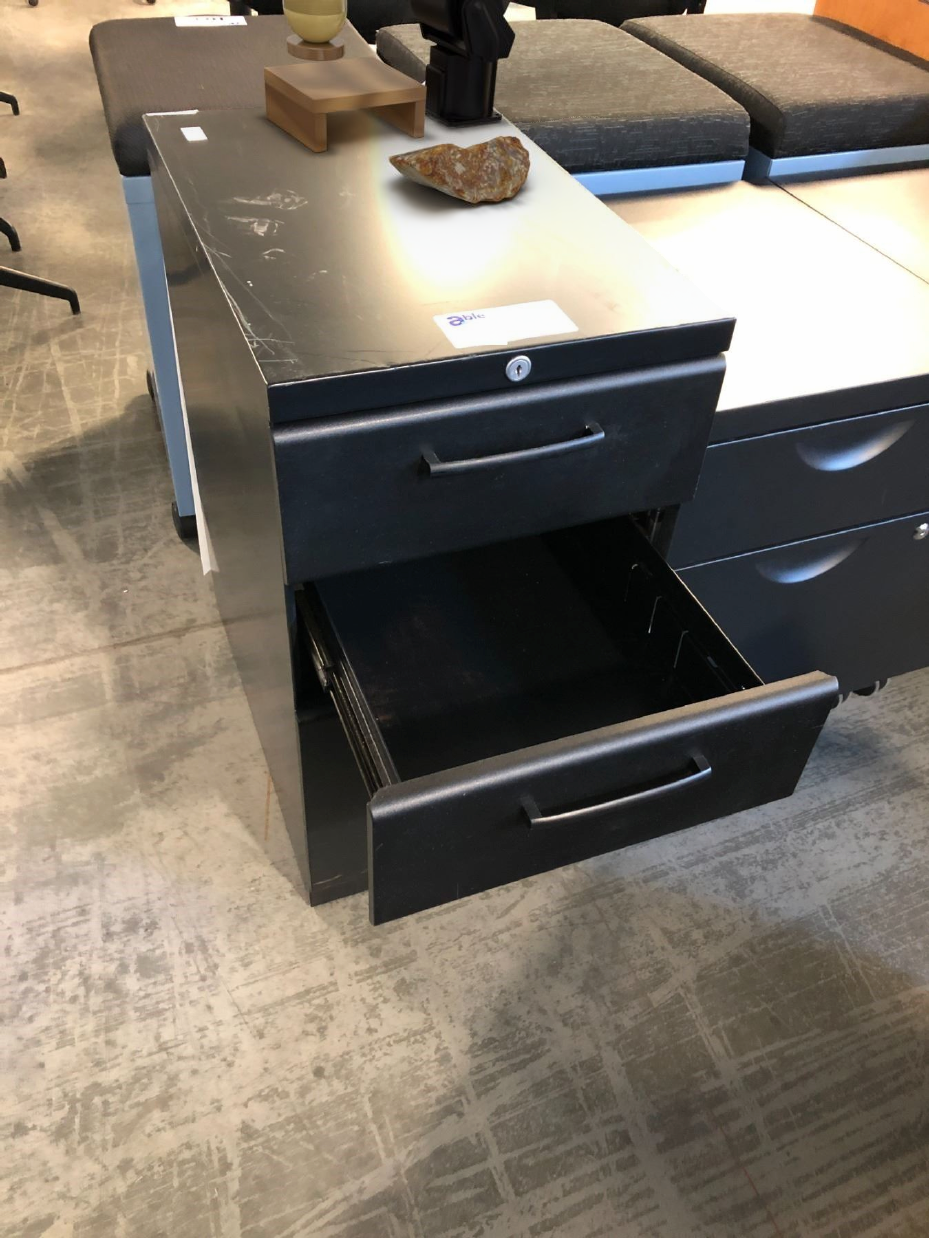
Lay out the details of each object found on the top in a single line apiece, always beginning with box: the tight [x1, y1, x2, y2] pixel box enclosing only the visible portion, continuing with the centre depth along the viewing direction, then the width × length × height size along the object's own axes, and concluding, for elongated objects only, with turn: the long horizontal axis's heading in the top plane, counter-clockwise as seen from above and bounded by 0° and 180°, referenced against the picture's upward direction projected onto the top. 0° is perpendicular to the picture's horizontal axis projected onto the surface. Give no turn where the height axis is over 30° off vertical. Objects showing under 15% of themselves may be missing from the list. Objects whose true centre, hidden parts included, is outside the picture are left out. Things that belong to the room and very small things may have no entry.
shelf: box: [263, 56, 427, 153], centre depth 93 cm, size 12×10×4 cm
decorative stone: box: [388, 135, 531, 204], centre depth 85 cm, size 10×4×15 cm
